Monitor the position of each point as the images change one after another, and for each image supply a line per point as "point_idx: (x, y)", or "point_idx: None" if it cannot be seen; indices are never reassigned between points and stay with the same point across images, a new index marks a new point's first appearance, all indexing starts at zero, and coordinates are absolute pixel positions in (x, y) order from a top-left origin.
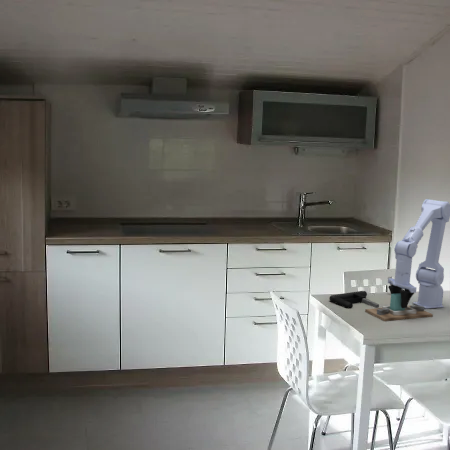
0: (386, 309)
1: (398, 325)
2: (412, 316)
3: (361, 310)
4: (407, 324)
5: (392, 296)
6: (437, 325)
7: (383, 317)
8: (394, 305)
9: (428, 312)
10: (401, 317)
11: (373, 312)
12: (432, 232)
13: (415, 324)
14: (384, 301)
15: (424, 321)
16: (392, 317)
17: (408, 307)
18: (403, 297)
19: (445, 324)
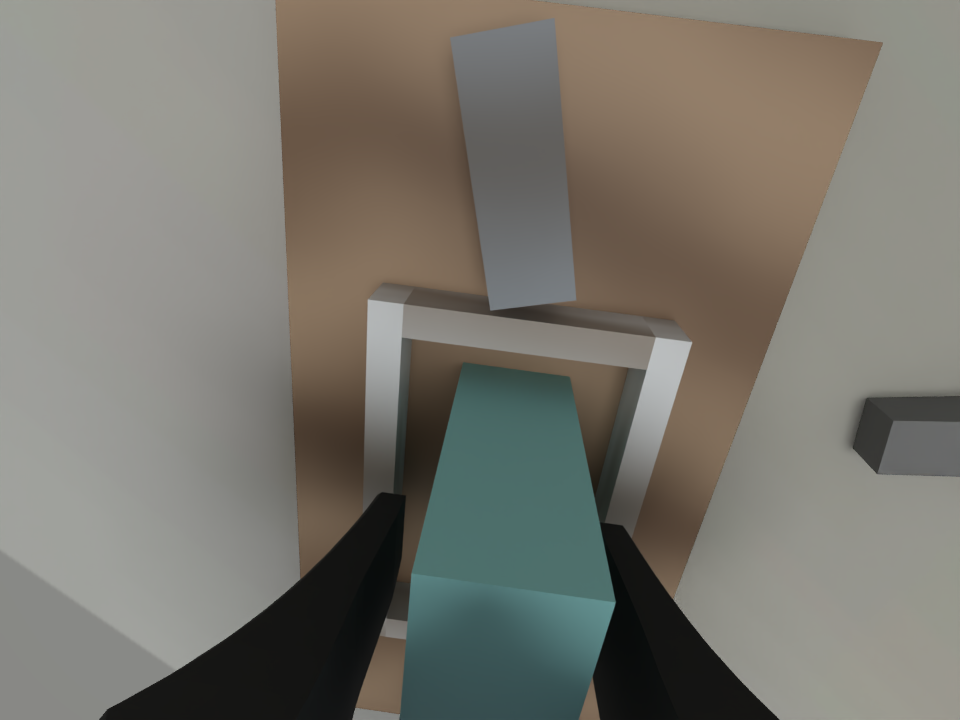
0: (479, 234)
1: (72, 65)
2: (299, 491)
3: (948, 39)
4: (109, 244)
5: (545, 551)
6: (59, 530)
7: (340, 4)
8: (458, 427)
9: (365, 707)
10: (291, 332)
11: (649, 47)
12: None
13: (103, 345)
14: (946, 662)
15: (196, 515)
16: (303, 181)
17: None
18: (243, 630)
19: (87, 609)
